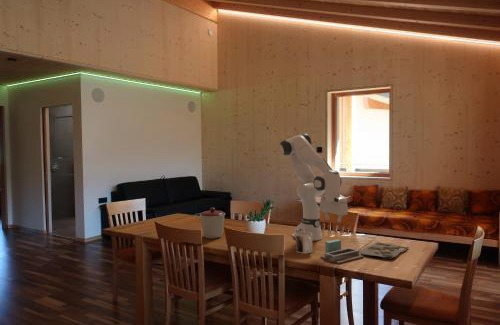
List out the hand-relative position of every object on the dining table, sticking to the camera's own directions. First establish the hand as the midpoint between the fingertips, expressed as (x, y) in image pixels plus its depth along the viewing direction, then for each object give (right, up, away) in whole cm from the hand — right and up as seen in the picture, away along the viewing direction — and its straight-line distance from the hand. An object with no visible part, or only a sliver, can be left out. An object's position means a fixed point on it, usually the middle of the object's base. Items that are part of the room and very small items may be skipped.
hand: (333, 220), depth 234 cm
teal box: (0, -19, +1) cm, 19 cm away
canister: (-76, -18, +44) cm, 89 cm away
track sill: (+3, -20, -10) cm, 22 cm away
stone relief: (+30, -19, 0) cm, 36 cm away
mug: (-17, -20, +3) cm, 26 cm away
